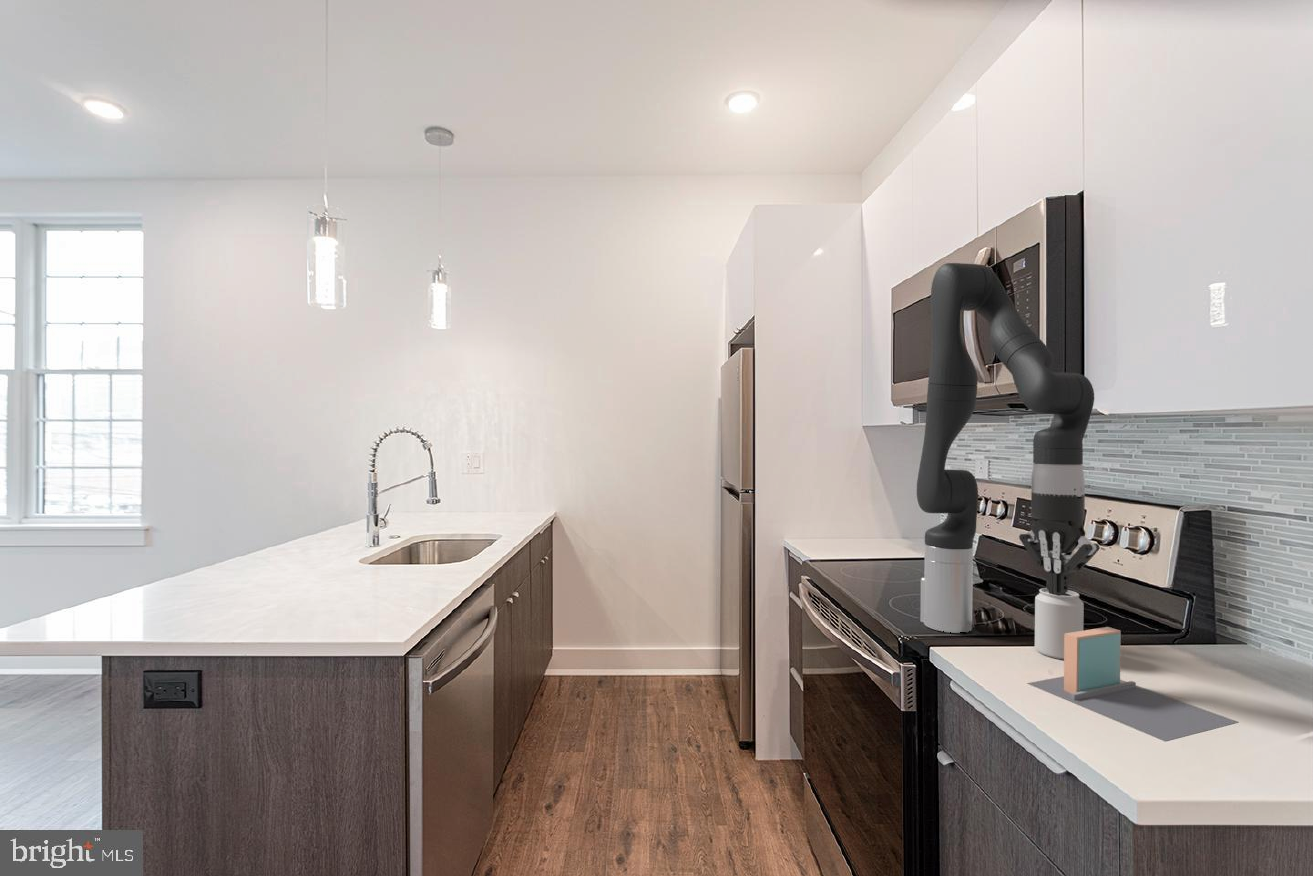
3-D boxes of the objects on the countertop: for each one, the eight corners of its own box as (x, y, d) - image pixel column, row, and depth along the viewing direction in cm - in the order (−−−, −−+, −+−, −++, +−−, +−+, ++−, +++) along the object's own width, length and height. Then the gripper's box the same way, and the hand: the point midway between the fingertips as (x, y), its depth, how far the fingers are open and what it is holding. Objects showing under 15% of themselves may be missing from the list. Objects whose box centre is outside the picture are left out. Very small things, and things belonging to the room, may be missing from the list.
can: (1091, 664, 110) (1091, 597, 109) (1044, 661, 111) (1045, 595, 111) (1071, 650, 117) (1072, 587, 117) (1028, 647, 118) (1028, 584, 118)
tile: (1063, 690, 97) (1064, 633, 97) (1107, 681, 101) (1107, 626, 101) (1077, 695, 95) (1077, 637, 95) (1120, 686, 99) (1121, 630, 99)
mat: (1026, 685, 100) (1027, 678, 100) (1094, 672, 106) (1094, 665, 106) (1165, 744, 81) (1165, 735, 81) (1238, 724, 87) (1238, 716, 87)
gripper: (1006, 488, 109) (1006, 587, 109) (1080, 495, 96) (1080, 606, 96) (1037, 487, 111) (1037, 584, 111) (1113, 493, 99) (1113, 602, 99)
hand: (1057, 594), depth 104 cm, fingers closed
